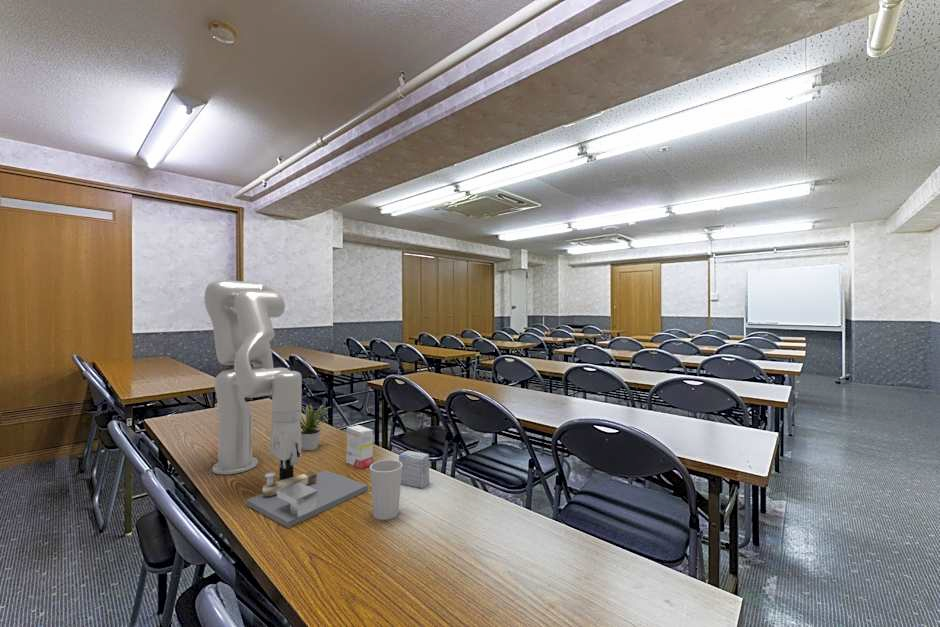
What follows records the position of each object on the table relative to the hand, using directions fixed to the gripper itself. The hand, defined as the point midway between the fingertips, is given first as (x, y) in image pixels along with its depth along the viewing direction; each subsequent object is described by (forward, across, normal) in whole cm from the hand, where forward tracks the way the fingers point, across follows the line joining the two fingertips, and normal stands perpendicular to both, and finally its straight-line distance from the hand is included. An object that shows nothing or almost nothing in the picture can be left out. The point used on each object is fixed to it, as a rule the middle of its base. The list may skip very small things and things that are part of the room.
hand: (286, 480), depth 113 cm
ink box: (+3, -2, +25) cm, 25 cm away
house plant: (+3, -27, +22) cm, 35 cm away
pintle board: (+3, +9, +2) cm, 10 cm away
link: (+1, +3, -1) cm, 3 cm away
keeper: (+1, +15, -4) cm, 16 cm away
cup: (+3, +31, +11) cm, 33 cm away
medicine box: (+3, +23, +27) cm, 36 cm away
